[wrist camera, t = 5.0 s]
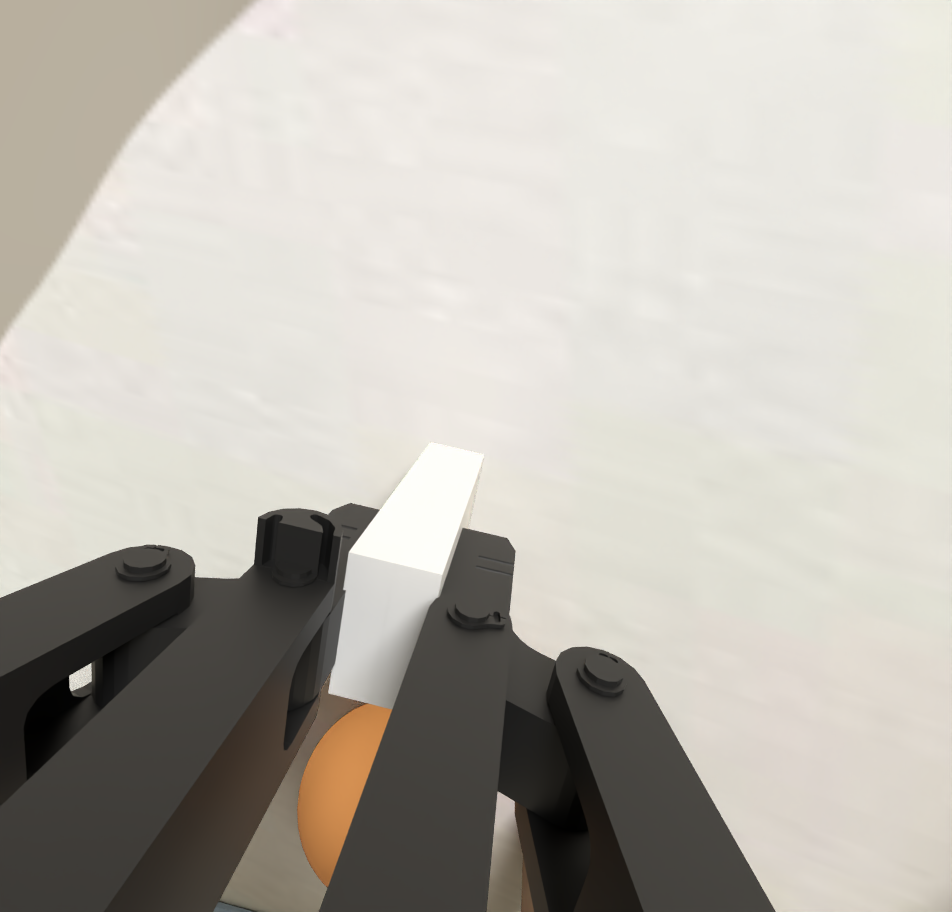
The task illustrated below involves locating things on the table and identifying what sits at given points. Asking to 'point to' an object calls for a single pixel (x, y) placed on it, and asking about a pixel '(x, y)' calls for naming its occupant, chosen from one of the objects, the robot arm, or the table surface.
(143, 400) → the table surface
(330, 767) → the ball
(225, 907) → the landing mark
